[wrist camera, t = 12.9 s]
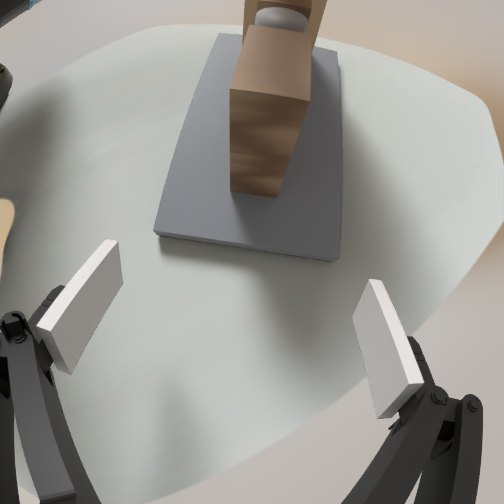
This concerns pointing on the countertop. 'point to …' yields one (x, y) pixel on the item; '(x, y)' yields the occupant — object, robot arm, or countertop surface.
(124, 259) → the countertop surface
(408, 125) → the countertop surface
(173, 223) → the hinge frame
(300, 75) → the brown wooden block
